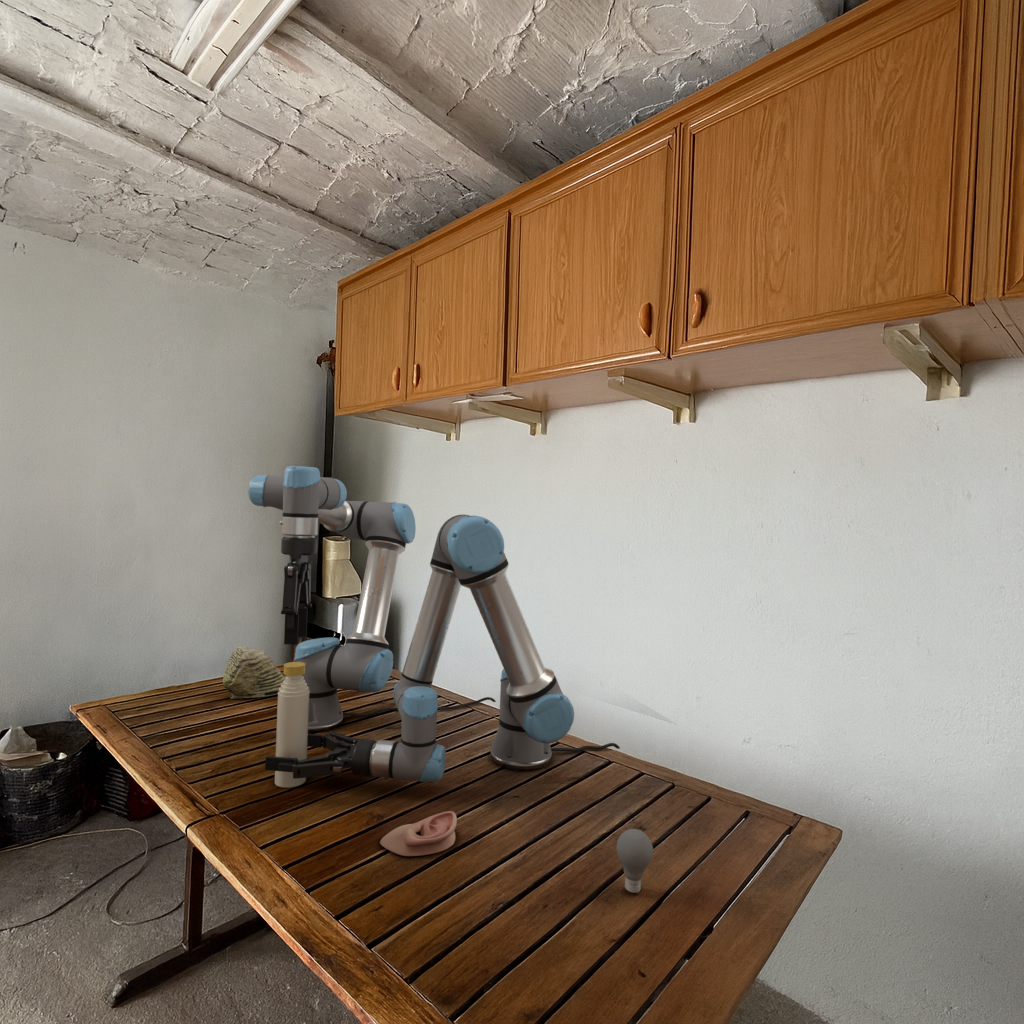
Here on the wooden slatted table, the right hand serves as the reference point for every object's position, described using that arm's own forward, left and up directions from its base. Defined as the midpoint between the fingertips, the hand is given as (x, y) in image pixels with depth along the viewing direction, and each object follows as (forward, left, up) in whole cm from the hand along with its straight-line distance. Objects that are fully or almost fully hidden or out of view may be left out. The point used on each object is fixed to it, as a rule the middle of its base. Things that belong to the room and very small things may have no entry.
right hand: (280, 750), depth 140 cm
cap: (-2, +1, +19) cm, 19 cm away
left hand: (-2, +1, +25) cm, 25 cm away
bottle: (-2, +1, -7) cm, 7 cm away
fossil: (+9, -64, -7) cm, 65 cm away
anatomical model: (-25, +32, -7) cm, 41 cm away
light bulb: (-56, +56, -7) cm, 80 cm away
